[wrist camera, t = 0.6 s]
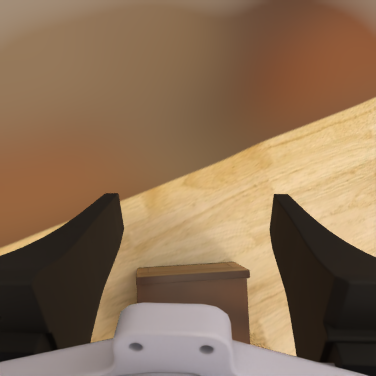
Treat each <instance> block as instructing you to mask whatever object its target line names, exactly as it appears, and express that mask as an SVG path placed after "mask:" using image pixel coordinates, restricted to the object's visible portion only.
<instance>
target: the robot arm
mask: <svg viewBox="0 0 376 376" xmlns="http://www.w3.org/2000/svg"><path fill="white" fill-rule="evenodd" d="M123 231H124V225H123V219H122V213H121V207H120V200H119V195H118V193H114V194H113V193H111V194H110V193H106V194H104V195H103V196H102V197H100V198H99V199H98V200H96V201H95V202H94V203H93V204H91V205H90V206H89V207H88V208H86V209H85V210H84V211H83V212H81V213H80V214H79V215H77V216H76V217H75V218H73V219H72V220H70V221H69V222H67V223H66V224H65V225H63V226H62V227H60V228H59V229H57V230H55V231H54V232H52V233H50V234H48V235H47V236H45V237H43V238H41V239H39V240H37V241H35V242H33V243H31V244H29V245H27V246H24V247H22V248H20V249H17V250H15V251H12V252H10V253H7V254H4V255H2V256H0V376H376V257H374V256H371V255H369V254H367V253H365V252H363V251H361V250H360V249H358V248H356V247H354V246H352V245H350V244H349V243H347V242H345V241H344V240H342V239H341V238H339V237H338V236H336V235H334V234H333V233H332V232H330V231H329V230H327V229H326V228H325V227H324V226H322V225H321V224H320V223H318V222H317V221H316V220H315V219H314V218H313V217H311V216H310V215H309V214H308V213H307V212H306V211H305V210H304V209H303V208H302V207H301V206H299V205H298V204H297V203H296V202H295V201H294V200H293V199H292V198H291V197H290V196H289V195H288V194H274V198H273V206H272V215H271V223H270V236H271V243H272V249H273V252H274V255H275V259H276V262H277V265H278V269H279V272H280V275H281V278H282V282H283V285H284V288H285V292H286V296H287V301H288V307H289V312H290V317H291V323H292V329H293V335H294V342H295V348H296V355H297V357H296V356H292V355H288V354H285V353H281V352H277V351H273V350H269V349H266V348H262V347H258V346H254V345H250V344H247V343H243V342H239V341H235V340H232V333H231V322H230V320H229V317H228V314H226V313H225V312H224V311H222V310H221V309H219V308H218V307H216V306H211V305H206V304H183V303H145V302H143V303H137V304H131V305H129V306H127V307H126V308H125V309H123V310H122V311H121V313H120V316H119V320H118V324H117V327H116V331H115V334H114V338H112V339H107V340H102V341H98V342H93V343H90V342H91V337H92V332H93V328H94V324H95V320H96V316H97V311H98V308H99V304H100V300H101V296H102V293H103V290H104V287H105V284H106V281H107V279H108V276H109V274H110V271H111V268H112V266H113V263H114V261H115V258H116V256H117V253H118V250H119V248H120V244H121V240H122V236H123Z"/></svg>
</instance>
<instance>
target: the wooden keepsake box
mask: <svg viewBox="0 0 376 376" xmlns="http://www.w3.org/2000/svg"><path fill="white" fill-rule="evenodd" d="M249 277H250V272H249V270H248V269H246V268H244V267H242V266H241V265H239V264H237V263H235V262H225V263H209V264H193V265H177V266H160V267H144V268H138V270H137V276H136V285H137V303H143V302H145V303H183V304H206V305H211V306H216V307H218V308H219V309H221V310H222V311H224V312H225V313H226V314H228V317H229V320H230V322H231V333H232V340H235V341H239V342H243V343H247V344H250V334H249V315H248V296H247V278H249Z"/></svg>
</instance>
